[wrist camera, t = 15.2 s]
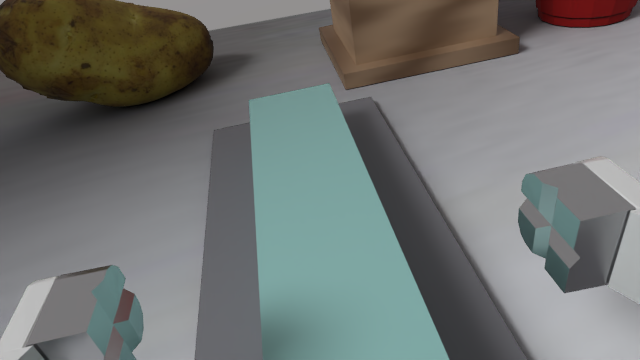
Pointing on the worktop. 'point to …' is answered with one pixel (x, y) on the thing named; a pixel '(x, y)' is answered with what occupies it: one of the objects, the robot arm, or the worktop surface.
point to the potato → (101, 50)
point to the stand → (411, 37)
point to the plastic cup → (584, 12)
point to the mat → (406, 221)
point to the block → (327, 242)
